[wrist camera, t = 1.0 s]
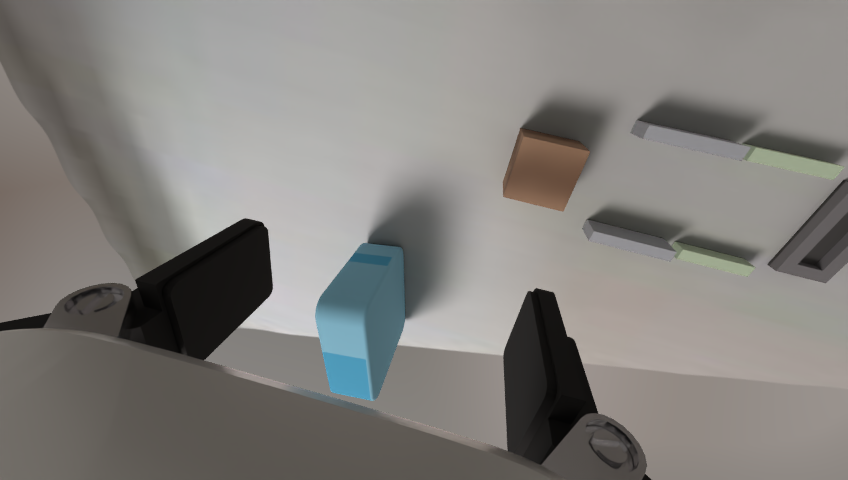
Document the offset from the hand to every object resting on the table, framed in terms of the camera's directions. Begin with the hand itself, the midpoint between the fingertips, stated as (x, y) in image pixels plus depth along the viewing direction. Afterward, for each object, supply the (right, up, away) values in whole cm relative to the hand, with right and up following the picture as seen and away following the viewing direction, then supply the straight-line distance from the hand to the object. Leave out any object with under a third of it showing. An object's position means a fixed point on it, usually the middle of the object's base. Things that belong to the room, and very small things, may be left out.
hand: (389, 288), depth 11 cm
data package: (-3, -3, +27) cm, 28 cm away
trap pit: (+35, +2, +15) cm, 38 cm away
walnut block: (+11, +9, +17) cm, 22 cm away
